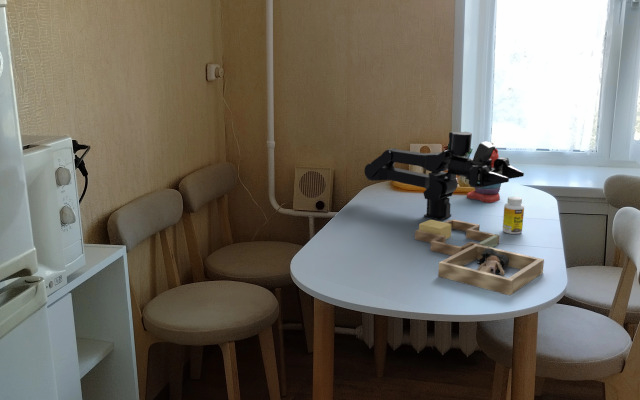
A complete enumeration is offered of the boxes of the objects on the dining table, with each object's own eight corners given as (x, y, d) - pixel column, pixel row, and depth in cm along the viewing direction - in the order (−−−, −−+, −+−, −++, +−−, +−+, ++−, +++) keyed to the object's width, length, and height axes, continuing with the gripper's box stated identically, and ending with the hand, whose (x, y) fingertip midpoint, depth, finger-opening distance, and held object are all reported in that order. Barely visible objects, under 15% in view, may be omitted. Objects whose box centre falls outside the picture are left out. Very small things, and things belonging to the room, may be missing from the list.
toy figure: (501, 289, 156) (510, 265, 169) (500, 263, 155) (509, 241, 168) (470, 288, 159) (481, 265, 172) (468, 263, 158) (480, 241, 171)
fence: (438, 276, 163) (438, 262, 162) (474, 256, 177) (475, 243, 176) (510, 295, 151) (511, 280, 151) (542, 272, 165) (544, 259, 164)
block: (418, 237, 193) (419, 224, 192) (429, 232, 198) (430, 219, 197) (440, 242, 189) (440, 228, 188) (450, 237, 193) (451, 223, 192)
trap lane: (404, 244, 187) (404, 235, 186) (445, 225, 203) (445, 217, 203) (469, 259, 174) (470, 250, 174) (507, 239, 191) (508, 230, 190)
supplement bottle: (513, 235, 194) (515, 201, 191) (498, 231, 198) (500, 197, 196) (526, 232, 197) (529, 198, 194) (511, 228, 201) (513, 194, 199)
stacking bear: (464, 197, 237) (466, 147, 232) (483, 193, 243) (486, 144, 238) (488, 203, 228) (491, 151, 224) (507, 199, 234) (511, 148, 230)
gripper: (453, 145, 193) (503, 154, 184) (485, 137, 207) (533, 145, 197) (450, 183, 197) (499, 193, 187) (482, 172, 210) (529, 182, 200)
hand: (516, 177), depth 192 cm, fingers open, 9 cm apart
